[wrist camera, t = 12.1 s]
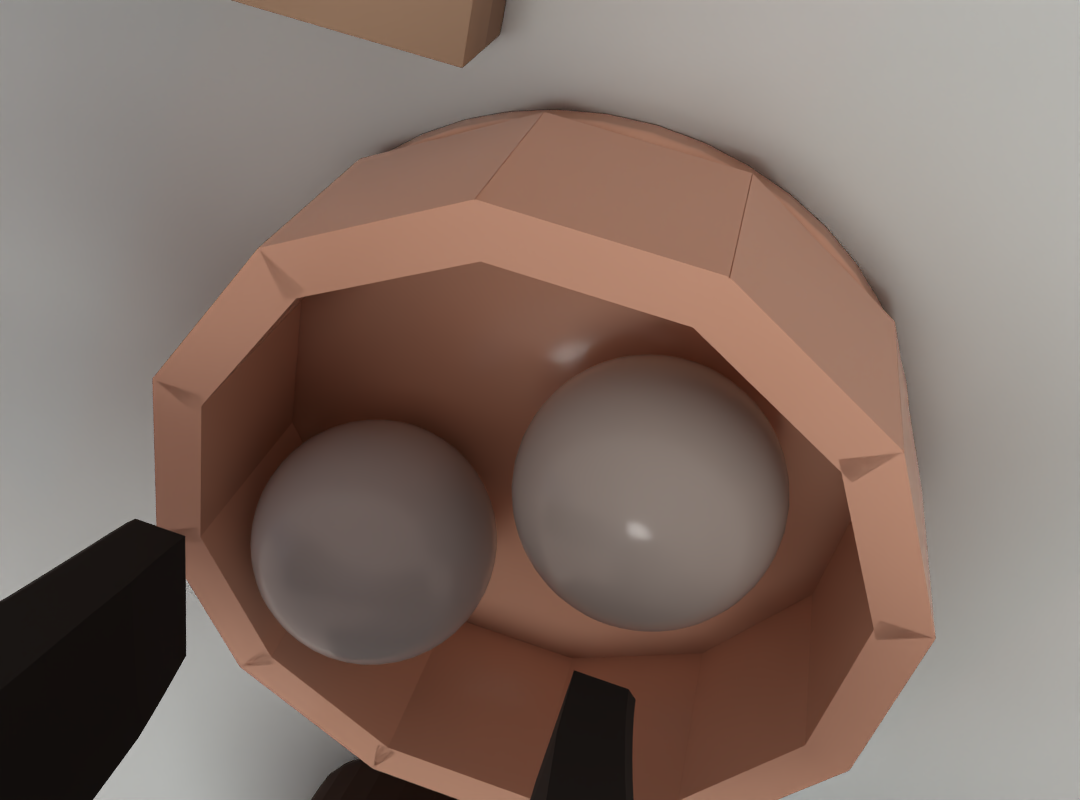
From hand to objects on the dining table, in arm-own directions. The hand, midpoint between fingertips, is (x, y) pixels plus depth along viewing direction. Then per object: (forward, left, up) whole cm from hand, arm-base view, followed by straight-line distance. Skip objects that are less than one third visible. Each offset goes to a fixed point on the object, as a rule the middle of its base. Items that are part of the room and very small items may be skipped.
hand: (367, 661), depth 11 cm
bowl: (+1, +1, -4) cm, 5 cm away
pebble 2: (+2, +2, -4) cm, 5 cm away
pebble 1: (0, 0, -3) cm, 3 cm away
